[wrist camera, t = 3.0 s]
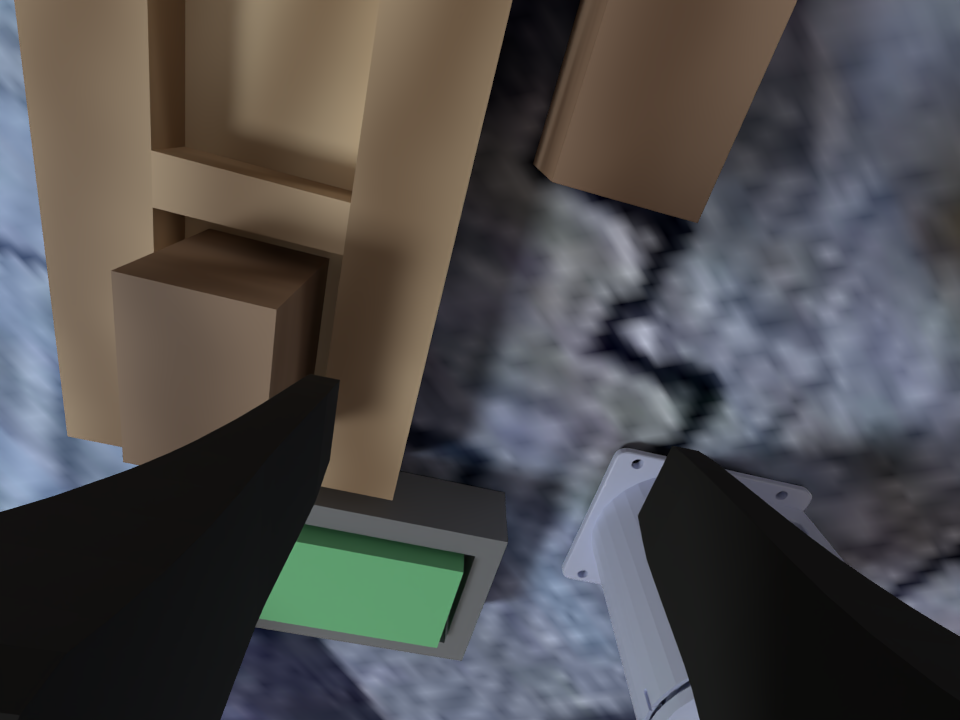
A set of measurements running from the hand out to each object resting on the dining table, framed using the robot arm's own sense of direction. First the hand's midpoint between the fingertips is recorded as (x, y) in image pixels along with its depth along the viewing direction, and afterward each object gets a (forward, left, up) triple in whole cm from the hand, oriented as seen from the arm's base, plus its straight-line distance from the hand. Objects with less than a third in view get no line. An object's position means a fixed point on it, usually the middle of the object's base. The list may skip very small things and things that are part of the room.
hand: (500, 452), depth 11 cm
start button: (+3, +13, -8) cm, 16 cm away
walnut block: (-2, -8, -10) cm, 13 cm away
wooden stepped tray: (+8, -2, -10) cm, 13 cm away
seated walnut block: (+8, +3, -8) cm, 12 cm away
